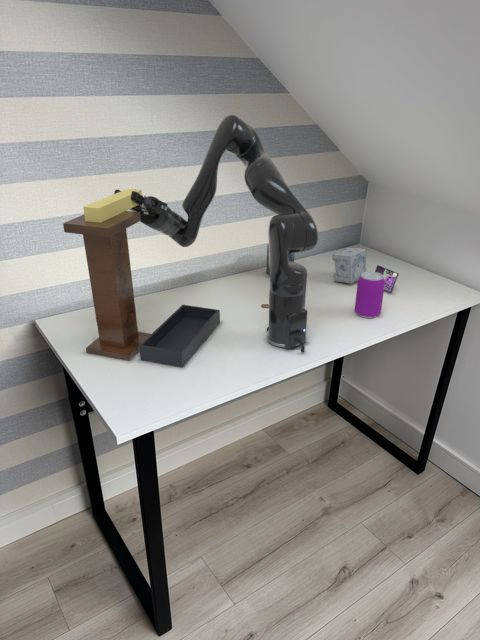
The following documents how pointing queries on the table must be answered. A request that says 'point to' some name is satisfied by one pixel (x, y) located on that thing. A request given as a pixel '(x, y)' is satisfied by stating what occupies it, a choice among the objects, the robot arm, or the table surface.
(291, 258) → the box
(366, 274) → the beverage can
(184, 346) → the pan
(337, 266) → the incense holder
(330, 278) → the table surface
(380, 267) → the game card
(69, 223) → the shelf stand
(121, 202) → the butter
